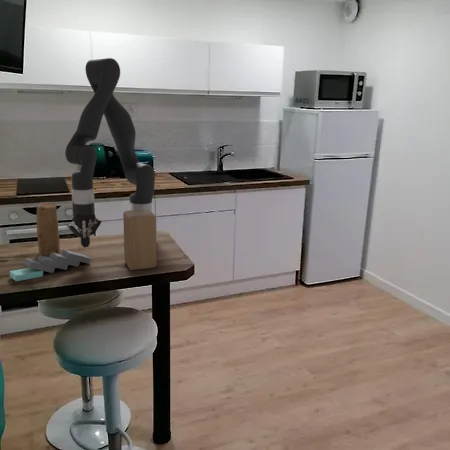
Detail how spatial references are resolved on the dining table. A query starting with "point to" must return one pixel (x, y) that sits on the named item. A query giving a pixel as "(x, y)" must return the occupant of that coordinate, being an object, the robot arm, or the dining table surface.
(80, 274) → the dining table surface
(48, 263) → the domino
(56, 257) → the domino
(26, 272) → the domino
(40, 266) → the domino
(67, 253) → the domino
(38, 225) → the block
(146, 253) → the wooden block
